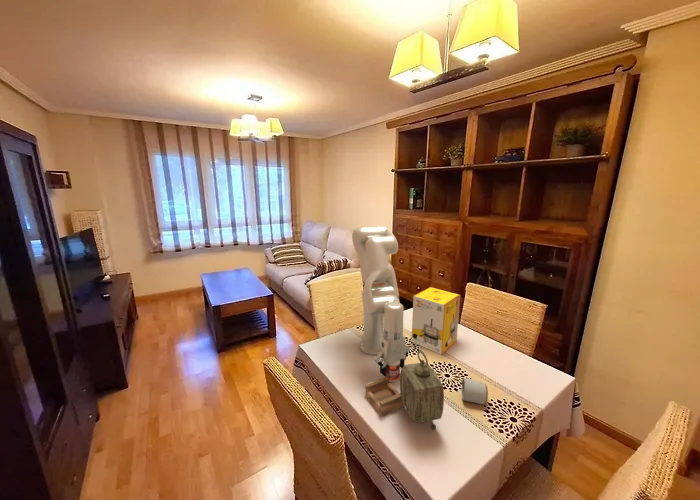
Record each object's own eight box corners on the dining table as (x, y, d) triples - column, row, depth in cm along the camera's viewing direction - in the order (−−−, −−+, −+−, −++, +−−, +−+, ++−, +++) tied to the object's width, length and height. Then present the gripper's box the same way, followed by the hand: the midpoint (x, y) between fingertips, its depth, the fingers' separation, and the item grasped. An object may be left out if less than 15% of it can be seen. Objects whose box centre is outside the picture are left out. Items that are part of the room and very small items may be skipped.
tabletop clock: (441, 433, 90) (446, 364, 84) (415, 438, 88) (418, 368, 83) (421, 400, 104) (424, 339, 98) (398, 404, 102) (400, 342, 96)
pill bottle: (389, 384, 112) (390, 359, 110) (381, 375, 118) (382, 351, 115) (402, 379, 115) (403, 355, 112) (394, 371, 120) (394, 347, 118)
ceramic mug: (487, 409, 99) (489, 390, 98) (462, 404, 102) (464, 386, 100) (482, 389, 109) (484, 372, 108) (460, 385, 111) (461, 368, 110)
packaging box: (456, 341, 143) (460, 294, 137) (441, 354, 131) (444, 305, 126) (427, 330, 154) (430, 287, 148) (411, 341, 143) (413, 295, 137)
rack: (365, 395, 106) (365, 384, 105) (387, 386, 111) (387, 376, 110) (381, 416, 97) (382, 404, 96) (404, 405, 102) (405, 394, 100)
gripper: (380, 343, 105) (379, 383, 108) (416, 331, 112) (414, 369, 116) (369, 334, 111) (369, 372, 115) (404, 323, 119) (403, 359, 123)
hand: (392, 370), depth 116 cm, fingers open, 8 cm apart
